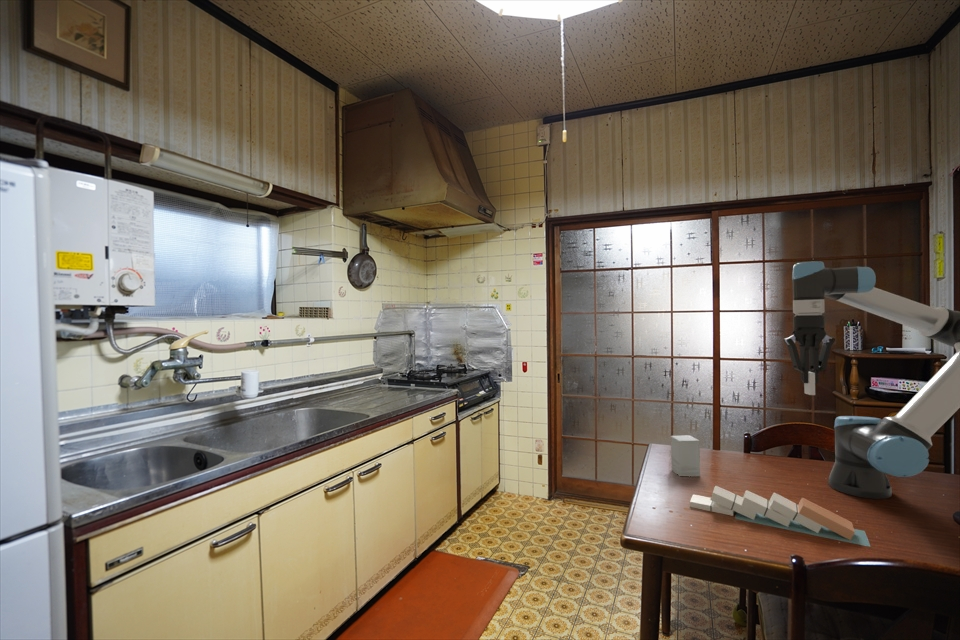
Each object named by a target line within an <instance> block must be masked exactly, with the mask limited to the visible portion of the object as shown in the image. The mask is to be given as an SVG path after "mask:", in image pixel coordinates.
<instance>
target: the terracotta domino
mask: <svg viewBox="0 0 960 640" xmlns="http://www.w3.org/2000/svg"><path fill="white" fill-rule="evenodd" d="M797 504H798V509H799V514H801V515H803V516H805V517H807V518H809V519H811V520H813V521H814V522H816V523H818V524H820V525H822V526H824V527H826V528H828V529H830V530H832V531H834V532H836V533H837V534H839V535H841V536H843V537H845V538H847V539H849V540H851V538H852V536H853V535H854V533H855V531H854V529H855V528H854V525H853V522H852V521H850V520H848V519H846V518H845V517H842V516H841V515H839V514H836V513H834V512H832V511H831V510H829V509H826V508H824V507H822V506H820V505H818V504H816V503H814V502H812V501H810V500H808V499H806V498H805V497H801V499H800V500H799V502H798V503H797Z"/></svg>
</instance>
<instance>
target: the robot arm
mask: <svg viewBox="0 0 960 640" xmlns="http://www.w3.org/2000/svg"><path fill="white" fill-rule="evenodd" d="M791 273H792V275H791V280H792V313H793V314H795V315H793V317H792V322H793V323H792V328H793V331H792V332H791V335H790V336H789V337H785V338H783V342H784V343H785V345H786V346H787V350H788V352H789V353H788V354H789V357H790V360H791V363H792V366H793V369H794V370H797V371H799V372H800V377H801V379H800V381H801V383H802V384H803V387H804V390H803V391H804V392H803V393H804V394H806V395H809V396H816V384H818V383H819V373H821V371H825V370H826V369H827V365H828V360H829V357H830V353H831V349H832V346H833V345H834V343H835V341H836V338H834V337H830V336H829V335H827V332H826V329H825V327H826V316H825V315H824V314H825V312H826V311H825V309H826V308H825V298H828V299H830V300H833V301H834V300H835V301H836V302H839V303H842V304H845V305H848V306H851V307H853V308H856V309H859V310H862V311H864V312H867V313H869V314H872V315H876V316H878V317H881V318H884V319H887V320H890V321H892V322H895V323H897V324H901V325H904V326H906V327H908V328H911V329H914V330H917V331H918V332H919V334H920V335H921V336H922V337H926V338H928V339H932V340H933V341H935V342H936V341H937V342H938V343H941V344H945V345H947V346H949V347H951V348H953V349H955V353H954V354H953V355H952V356H951V358H949V359H948V361H946V363H945V364H944V365H943V366H941V368H940V369H939V370H938V371H937V372H936V373H935V374H934V375H933V376H932V377H931V378H930V379H929V380H928V381H927V382H926V383H925V384H924V385H923V386H922V388H921V389H919V391H917V392H916V394H915V395H914V396H912V398H911V399H910V400H909V401H908V402H907V403H906V404H905V405H904V406H903V407H902V408H901V409H900V410H899V411H898V412H897V413H896V415H894V416H885V417H883V418H882V419H881V418H878V417H874V416H873V417H871V416H858V415H840V416H837V417H836V418H835V420H834V426H833V428H834V454H835V455H834V456H835V457H834V458H835V459H834V461H835V462H834V463H833V466H832V469H831V471H830V473H829V476H828V485H829V486H830V487H831V489H833V490H836V491H838V492H841V493H843V494H847V495H850V496H854V497H859V498H863V499H864V498H865V499H875V500H877V499H878V500H881V499H882V500H884V499H889V498H891V497H892V496H893V495H892V490H893V489H892V486H891V483H890V481H889V478H888V476H887V475H890V476H893V477H898V478H907V477H908V478H910V477H913V476H916V475H918V474H920V473H922V472H924V470H925V469H926V468H927V467H928V466H929V462H930V459H929V456H930V454H929V450H930V449H931V448H932V446H933V442H932V437H933V436H934V434H935V433H936V432H937V431H938V430H939V429H940V428H941V427H942V426H944V424H945V423H946V422H947V421H948V420H949V419H950V418H951V417H952V416H953V415H954V414H955V413H956V412H957V411H958V410H959V409H960V311H958V310H953V309H949V308H945V307H942V306H937V307H933V306H929V305H927V304H924V303H921V302H918V301H915V300H911V299H909V298H907V297H904V296H901V295H898V294H895V293H892V292H889V291H886V290H883V289H880V288H877V287H875V286H876V279H877V278H876V272H875V271H874V269H872V268H871V267H869V266H851V267H849V266H848V267H846V266H845V267H833V268H831V267H825V263H824V262H823V261H821V260H820V261H817V260H816V261H814V260H813V261H802V262H797V263H795V264H794V265H793V267H792V272H791ZM796 342H797V344H798V347H797V344H796ZM821 342H822V344H821ZM820 344H821V345H820ZM820 346H821V347H820ZM798 349H799V352H798Z"/></svg>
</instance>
